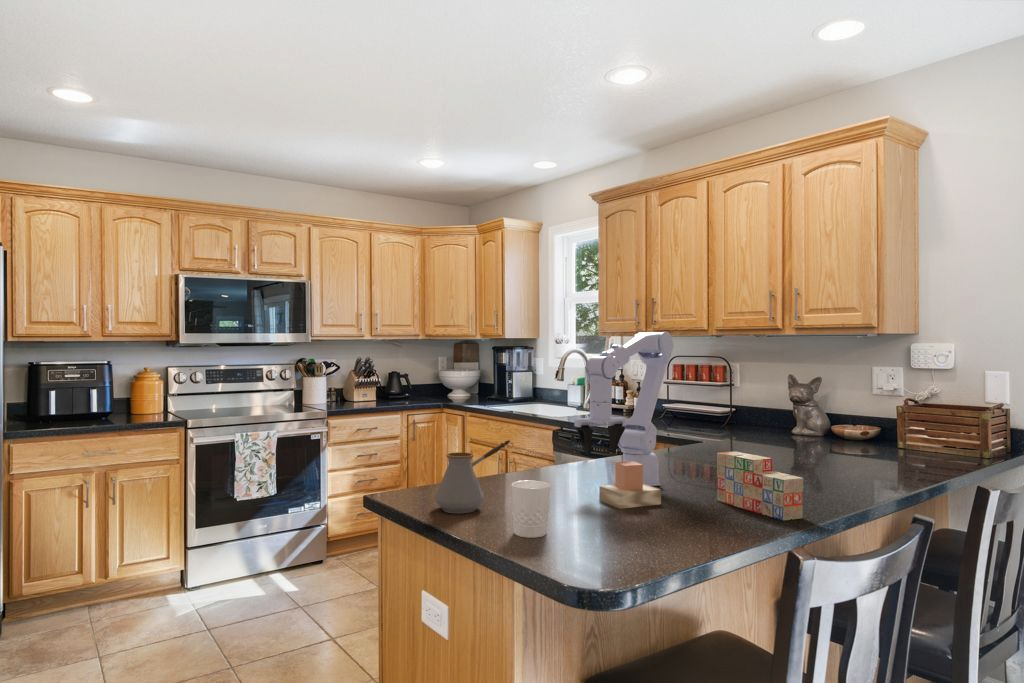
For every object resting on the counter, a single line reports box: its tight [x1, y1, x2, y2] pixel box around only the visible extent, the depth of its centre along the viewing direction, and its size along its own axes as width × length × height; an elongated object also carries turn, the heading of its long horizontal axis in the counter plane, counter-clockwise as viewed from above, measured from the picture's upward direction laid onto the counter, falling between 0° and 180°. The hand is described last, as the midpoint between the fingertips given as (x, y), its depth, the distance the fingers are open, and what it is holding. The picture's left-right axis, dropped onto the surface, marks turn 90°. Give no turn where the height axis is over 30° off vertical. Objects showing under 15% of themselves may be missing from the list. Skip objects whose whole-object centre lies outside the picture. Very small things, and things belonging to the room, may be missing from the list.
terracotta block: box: [614, 461, 643, 490], centre depth 158 cm, size 5×5×6 cm
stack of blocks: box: [716, 451, 804, 521], centre depth 153 cm, size 21×6×12 cm, turn 24°
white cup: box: [510, 479, 551, 539], centre depth 131 cm, size 8×8×10 cm
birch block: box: [598, 484, 662, 510], centre depth 158 cm, size 12×9×4 cm
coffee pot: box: [434, 439, 514, 514], centre depth 153 cm, size 21×12×15 cm, turn 130°
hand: (600, 453), depth 168 cm, fingers open, 7 cm apart
